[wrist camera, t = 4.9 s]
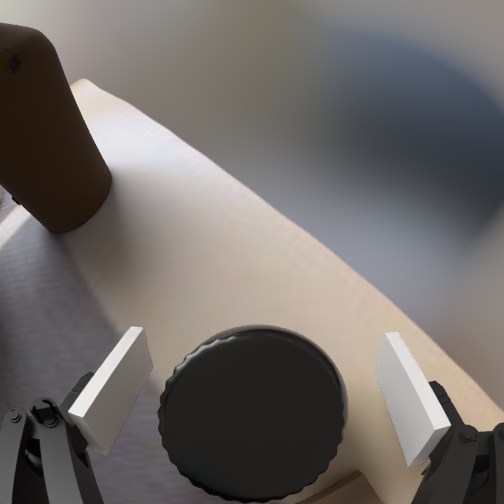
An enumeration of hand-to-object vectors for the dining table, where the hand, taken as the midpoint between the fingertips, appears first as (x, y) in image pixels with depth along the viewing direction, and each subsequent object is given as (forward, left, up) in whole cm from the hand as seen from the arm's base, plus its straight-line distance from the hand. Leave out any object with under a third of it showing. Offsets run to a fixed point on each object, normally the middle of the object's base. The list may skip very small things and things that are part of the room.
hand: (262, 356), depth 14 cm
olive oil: (-23, -10, -5) cm, 25 cm away
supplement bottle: (+2, -1, -5) cm, 5 cm away
